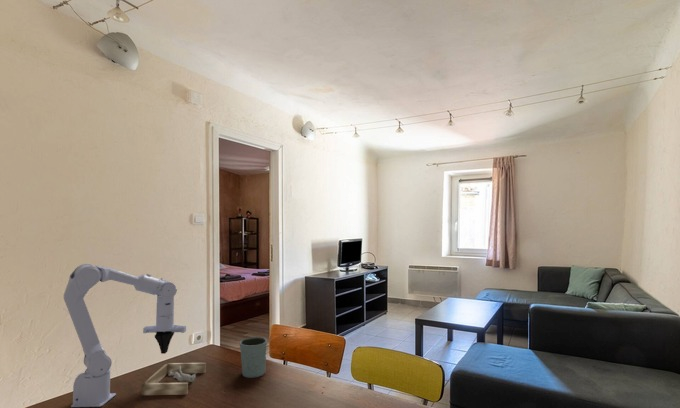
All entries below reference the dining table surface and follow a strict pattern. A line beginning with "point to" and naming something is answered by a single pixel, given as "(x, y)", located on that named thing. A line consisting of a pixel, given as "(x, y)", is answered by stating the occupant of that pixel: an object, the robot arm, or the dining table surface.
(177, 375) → the soldier figure
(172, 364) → the beech frame
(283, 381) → the dining table surface
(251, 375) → the green cup
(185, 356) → the dining table surface
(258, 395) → the dining table surface
